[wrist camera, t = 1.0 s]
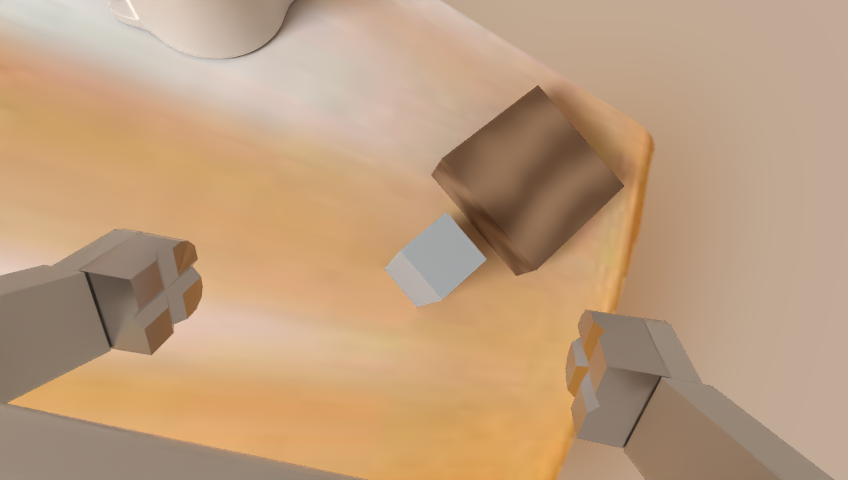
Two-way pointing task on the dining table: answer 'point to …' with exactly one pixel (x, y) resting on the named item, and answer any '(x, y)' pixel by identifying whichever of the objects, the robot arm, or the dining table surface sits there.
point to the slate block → (435, 262)
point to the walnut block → (527, 181)
